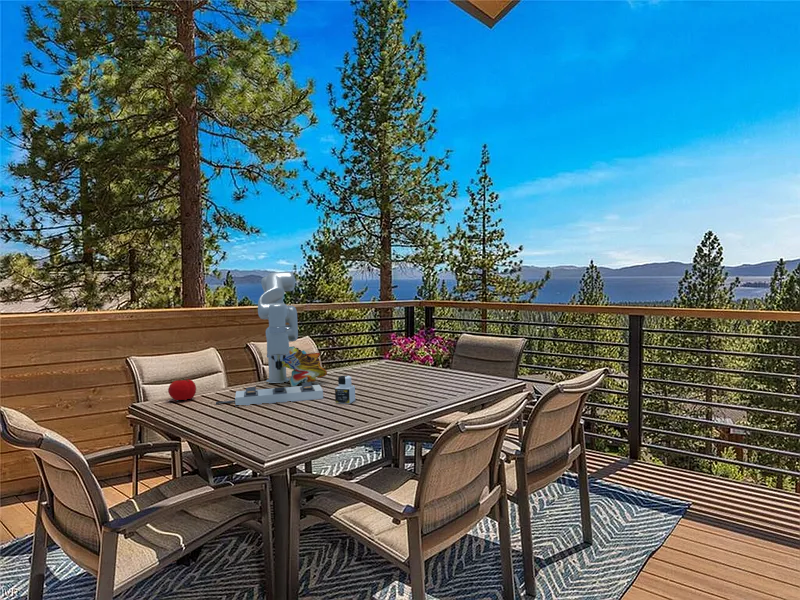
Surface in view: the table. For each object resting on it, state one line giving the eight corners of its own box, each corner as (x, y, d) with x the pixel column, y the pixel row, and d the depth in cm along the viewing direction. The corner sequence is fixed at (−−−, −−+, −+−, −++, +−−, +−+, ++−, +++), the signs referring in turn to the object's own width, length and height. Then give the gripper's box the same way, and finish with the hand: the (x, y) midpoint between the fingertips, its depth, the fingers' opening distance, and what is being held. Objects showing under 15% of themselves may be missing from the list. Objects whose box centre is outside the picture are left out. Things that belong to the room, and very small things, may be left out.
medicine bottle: (335, 403, 240) (334, 377, 239) (341, 399, 246) (340, 374, 246) (349, 404, 237) (348, 377, 237) (355, 400, 244) (354, 374, 244)
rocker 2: (301, 385, 254) (301, 383, 254) (311, 385, 255) (310, 382, 255) (303, 391, 248) (303, 388, 247) (312, 390, 249) (312, 387, 248)
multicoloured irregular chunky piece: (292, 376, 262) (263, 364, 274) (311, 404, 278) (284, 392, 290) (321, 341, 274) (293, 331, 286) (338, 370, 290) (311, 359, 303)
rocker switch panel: (216, 401, 250) (216, 391, 249) (319, 392, 263) (319, 383, 262) (214, 408, 236) (213, 398, 236) (323, 398, 249) (322, 389, 249)
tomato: (190, 403, 247) (189, 380, 247) (164, 403, 247) (163, 381, 247) (201, 396, 261) (200, 375, 260) (176, 397, 261) (175, 376, 260)
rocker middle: (274, 390, 251) (274, 387, 251) (283, 389, 252) (283, 386, 252) (274, 391, 244) (274, 387, 244) (284, 390, 245) (284, 387, 245)
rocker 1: (246, 390, 247) (246, 387, 247) (255, 389, 248) (255, 386, 248) (246, 396, 241) (245, 393, 240) (255, 395, 242) (255, 392, 242)
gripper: (293, 329, 250) (294, 367, 251) (260, 330, 246) (262, 369, 247) (294, 330, 243) (295, 369, 243) (261, 332, 239) (262, 372, 239)
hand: (278, 369), depth 245 cm, fingers closed
